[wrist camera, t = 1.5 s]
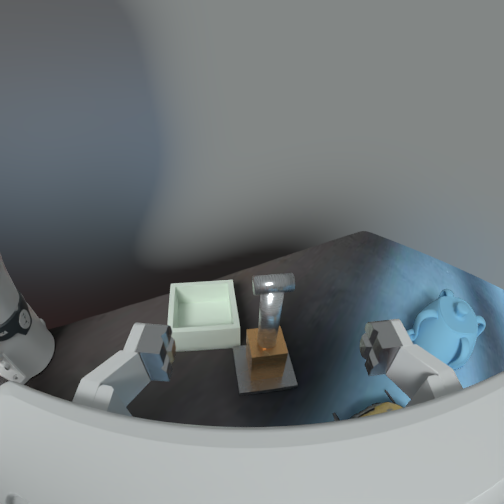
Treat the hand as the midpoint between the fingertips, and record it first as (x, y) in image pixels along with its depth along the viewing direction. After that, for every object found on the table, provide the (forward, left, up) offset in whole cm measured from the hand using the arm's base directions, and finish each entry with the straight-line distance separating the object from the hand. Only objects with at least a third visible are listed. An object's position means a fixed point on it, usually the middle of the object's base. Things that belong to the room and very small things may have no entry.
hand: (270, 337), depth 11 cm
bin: (-5, +31, -36) cm, 47 cm away
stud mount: (+5, +19, -36) cm, 41 cm away
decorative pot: (+43, +14, -36) cm, 58 cm away
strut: (+5, +19, -34) cm, 40 cm away
